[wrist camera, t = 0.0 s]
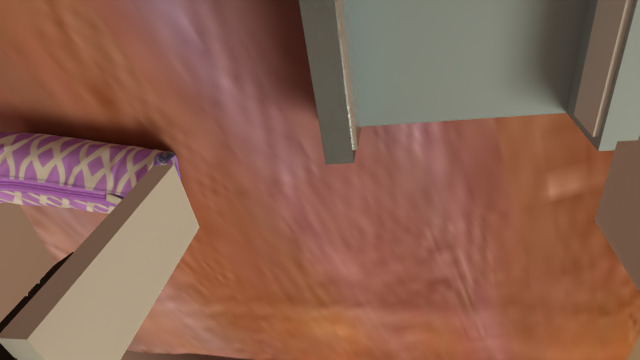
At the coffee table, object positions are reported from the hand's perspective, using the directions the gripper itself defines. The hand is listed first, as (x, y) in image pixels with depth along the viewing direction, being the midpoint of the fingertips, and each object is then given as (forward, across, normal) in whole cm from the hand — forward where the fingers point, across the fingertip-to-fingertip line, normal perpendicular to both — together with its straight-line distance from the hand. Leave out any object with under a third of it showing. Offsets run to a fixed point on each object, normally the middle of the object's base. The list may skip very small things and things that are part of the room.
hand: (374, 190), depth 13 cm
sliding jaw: (+26, -4, 0) cm, 27 cm away
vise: (+28, +7, -3) cm, 29 cm away
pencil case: (+28, -35, -14) cm, 47 cm away
